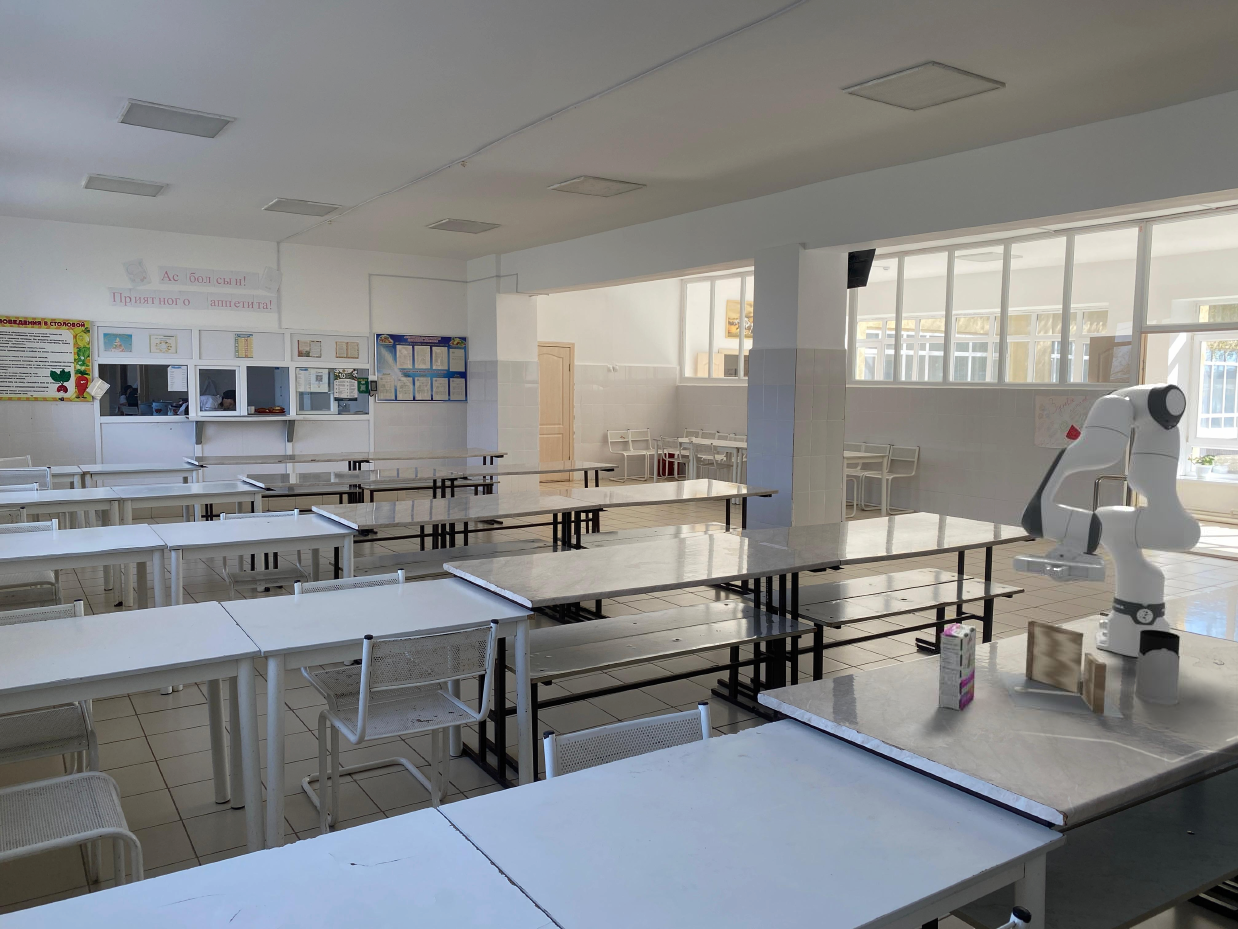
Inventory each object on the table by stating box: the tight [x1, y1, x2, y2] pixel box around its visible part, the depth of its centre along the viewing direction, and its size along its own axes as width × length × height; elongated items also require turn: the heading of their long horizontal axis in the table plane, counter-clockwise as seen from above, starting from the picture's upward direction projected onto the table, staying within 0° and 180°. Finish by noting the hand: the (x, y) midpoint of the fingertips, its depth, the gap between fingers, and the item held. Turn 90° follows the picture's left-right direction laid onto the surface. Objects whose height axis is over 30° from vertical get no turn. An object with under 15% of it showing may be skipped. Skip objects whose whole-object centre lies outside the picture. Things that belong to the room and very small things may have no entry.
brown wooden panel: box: [1025, 620, 1084, 693], centre depth 197 cm, size 12×2×14 cm, turn 30°
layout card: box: [999, 671, 1125, 719], centre depth 192 cm, size 25×21×1 cm
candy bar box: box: [938, 623, 977, 712], centre depth 186 cm, size 11×5×16 cm, turn 143°
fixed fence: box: [1080, 652, 1107, 714], centre depth 185 cm, size 13×2×11 cm, turn 165°
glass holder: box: [1133, 630, 1181, 706], centre depth 192 cm, size 9×14×15 cm, turn 161°
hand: (1053, 572), depth 201 cm, fingers closed
